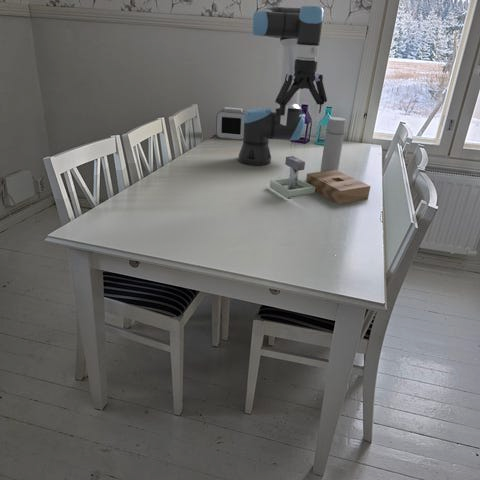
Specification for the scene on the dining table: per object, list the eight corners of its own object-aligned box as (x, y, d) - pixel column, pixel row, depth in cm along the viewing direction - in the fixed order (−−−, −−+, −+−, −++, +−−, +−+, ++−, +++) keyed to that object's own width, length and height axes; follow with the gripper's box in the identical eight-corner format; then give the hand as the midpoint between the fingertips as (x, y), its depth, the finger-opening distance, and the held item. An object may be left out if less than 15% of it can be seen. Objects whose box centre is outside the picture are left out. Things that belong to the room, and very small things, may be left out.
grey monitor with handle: (215, 137, 230) (216, 108, 223) (220, 133, 240) (221, 105, 233) (245, 140, 228) (246, 111, 221) (248, 135, 238) (249, 107, 231)
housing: (305, 188, 165) (307, 173, 162) (333, 184, 171) (335, 169, 168) (337, 206, 149) (340, 190, 146) (367, 201, 155) (370, 185, 152)
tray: (269, 187, 163) (270, 179, 162) (295, 184, 168) (296, 176, 167) (288, 199, 153) (288, 191, 152) (314, 195, 158) (315, 187, 157)
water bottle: (337, 183, 171) (347, 121, 160) (318, 181, 173) (326, 119, 161) (337, 176, 179) (347, 117, 168) (318, 174, 181) (327, 115, 169)
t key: (294, 193, 157) (298, 162, 151) (282, 186, 163) (286, 156, 157) (301, 192, 158) (305, 161, 153) (289, 185, 164) (292, 156, 159)
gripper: (280, 59, 131) (275, 128, 141) (342, 60, 142) (333, 123, 152) (268, 57, 137) (263, 123, 147) (329, 58, 148) (320, 119, 157)
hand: (299, 123), depth 149 cm, fingers open, 13 cm apart
